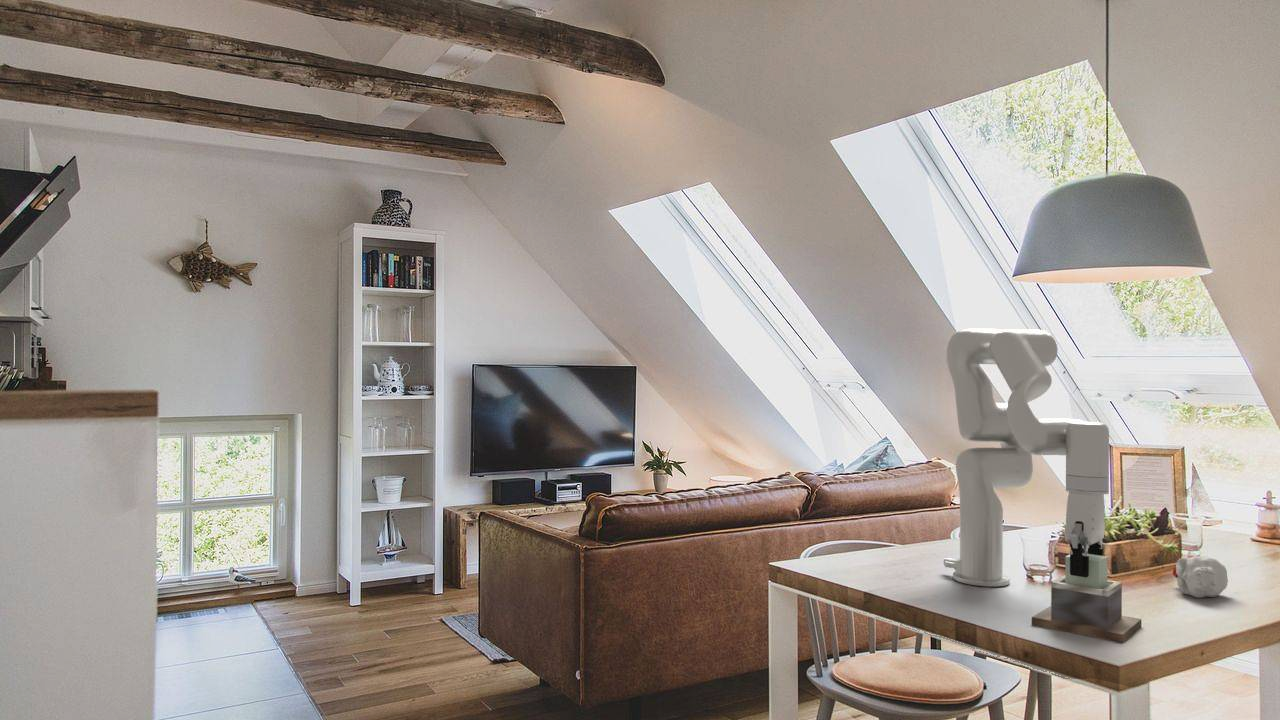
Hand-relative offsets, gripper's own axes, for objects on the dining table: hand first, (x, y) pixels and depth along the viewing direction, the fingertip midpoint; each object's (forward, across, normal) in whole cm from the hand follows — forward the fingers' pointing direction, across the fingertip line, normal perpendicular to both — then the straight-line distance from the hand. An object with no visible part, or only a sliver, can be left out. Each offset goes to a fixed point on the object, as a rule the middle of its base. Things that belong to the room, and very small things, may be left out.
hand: (1086, 571), depth 168 cm
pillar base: (+10, 0, 0) cm, 10 cm away
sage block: (+3, 0, 0) cm, 3 cm away
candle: (+11, -46, +11) cm, 49 cm away
